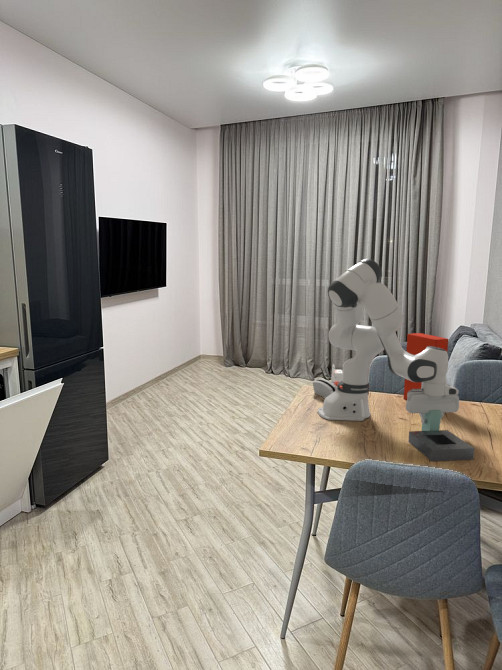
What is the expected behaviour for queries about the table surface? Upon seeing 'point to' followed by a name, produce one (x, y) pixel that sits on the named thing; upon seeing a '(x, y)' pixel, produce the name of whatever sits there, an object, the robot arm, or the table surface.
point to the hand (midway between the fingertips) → (430, 423)
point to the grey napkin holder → (323, 387)
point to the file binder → (416, 346)
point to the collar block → (441, 445)
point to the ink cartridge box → (336, 375)
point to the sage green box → (432, 421)
